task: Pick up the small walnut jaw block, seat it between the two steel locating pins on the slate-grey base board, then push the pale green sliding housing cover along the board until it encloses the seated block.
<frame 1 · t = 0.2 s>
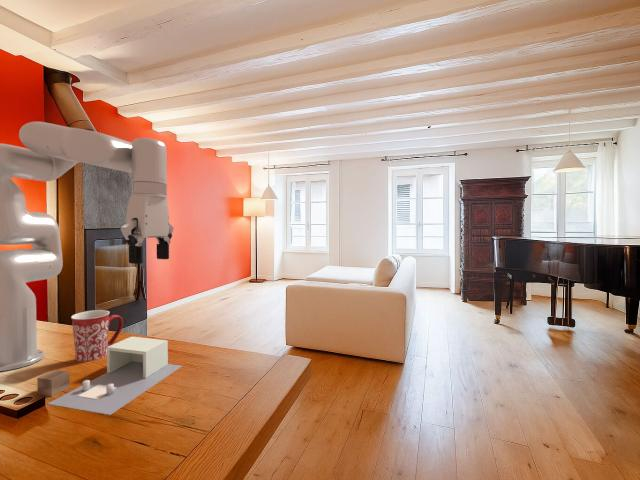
hand: (150, 261, 78), 31 cm above the table, fingers open, 9 cm apart
housing cover: (138, 356, 84), point 5 cm above the table, slide at 0.0 cm
jaw block: (54, 396, 73), on the table
base board: (123, 387, 77), on the table
mug: (98, 359, 93), on the table
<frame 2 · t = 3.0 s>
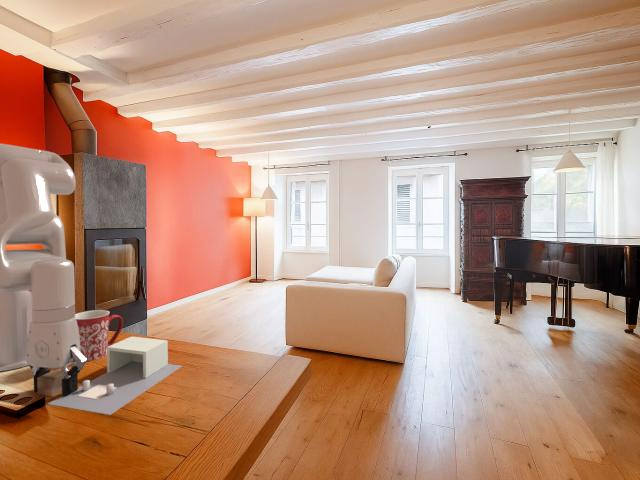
hand: (56, 390, 72), 1 cm above the table, fingers open, 7 cm apart
nothing on the table moved.
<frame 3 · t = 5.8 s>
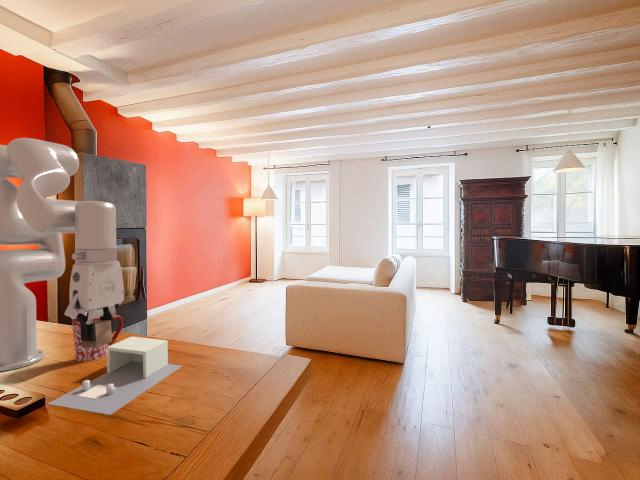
hand: (97, 336, 72), 14 cm above the table, fingers closed on jaw block, 4 cm apart
jaw block: (97, 344, 72), point 12 cm above the table, touching gripper
everything else where it was.
when the fingers open (3 cm above the table, at t = 8.0 s): jaw block stays where it is, resting on base board.
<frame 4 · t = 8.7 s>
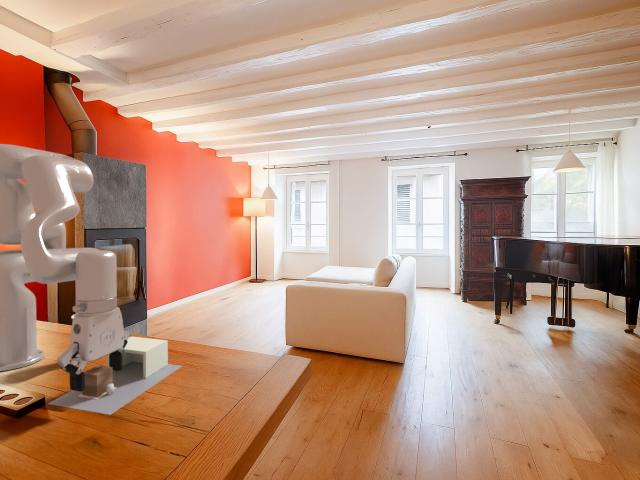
hand: (97, 379, 72), 4 cm above the table, fingers open, 9 cm apart
jaw block: (97, 391, 72), point 1 cm above the table, touching base board
everything else where it was.
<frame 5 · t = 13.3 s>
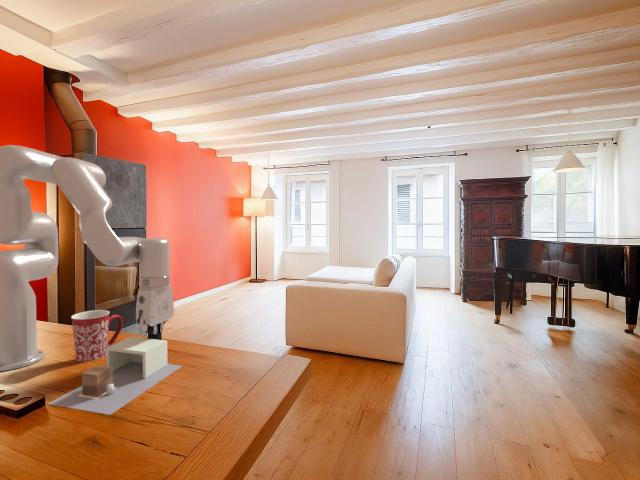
hand: (154, 346, 90), 5 cm above the table, fingers closed
housing cover: (137, 356, 84), point 5 cm above the table, slide at 0.2 cm, touching gripper
everything else where it was.
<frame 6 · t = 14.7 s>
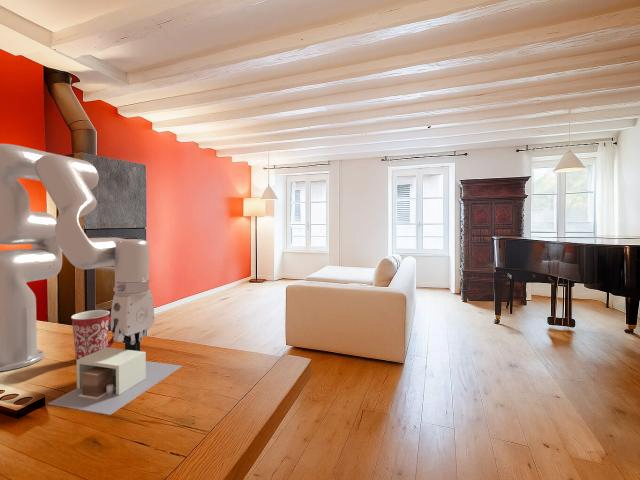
hand: (132, 357, 82), 5 cm above the table, fingers closed
housing cover: (112, 369, 76), point 5 cm above the table, slide at 8.1 cm, touching gripper
everything else where it was.
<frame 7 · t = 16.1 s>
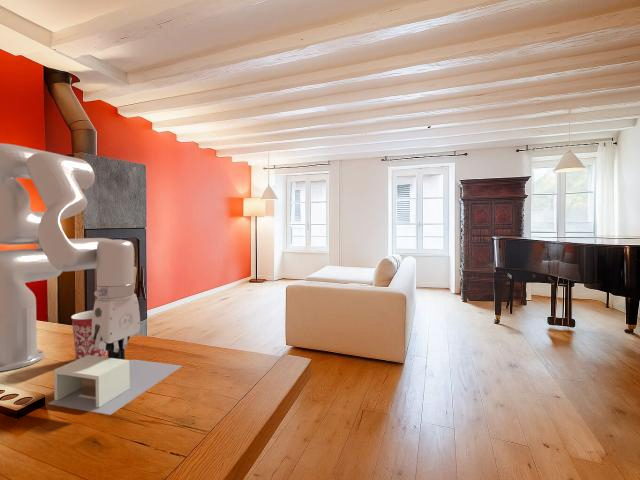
hand: (116, 365, 77), 5 cm above the table, fingers closed
housing cover: (93, 379, 71), point 5 cm above the table, slide at 13.1 cm, touching gripper
everything else where it was.
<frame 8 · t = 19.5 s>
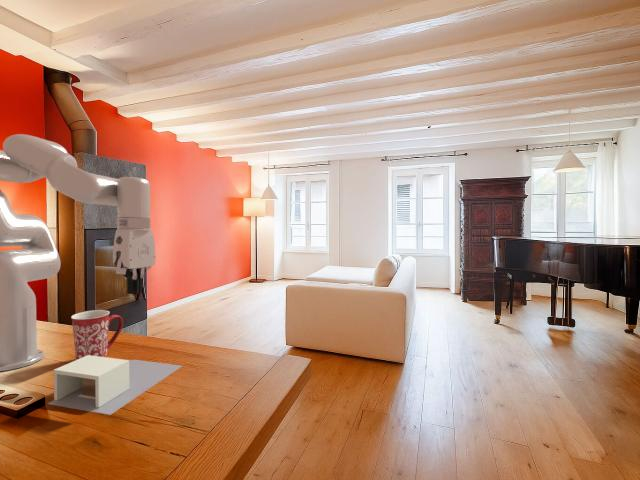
hand: (134, 293, 85), 21 cm above the table, fingers closed
housing cover: (93, 379, 71), point 5 cm above the table, slide at 13.2 cm
everything else where it was.
at the end: jaw block 0.0 cm from the target spot, point 1.3 cm above the table; jaw block tilted 0°; housing cover slide at 13.2 cm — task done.
